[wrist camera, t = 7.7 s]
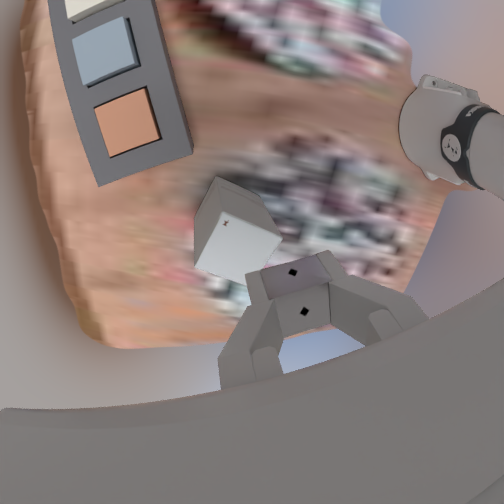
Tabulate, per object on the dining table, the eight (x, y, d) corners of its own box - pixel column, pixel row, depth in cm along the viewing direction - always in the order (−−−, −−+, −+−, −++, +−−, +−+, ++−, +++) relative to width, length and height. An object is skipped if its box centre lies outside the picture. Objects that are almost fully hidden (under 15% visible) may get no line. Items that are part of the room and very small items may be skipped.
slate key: (131, 24, 23) (122, 16, 20) (142, 66, 27) (134, 63, 23) (85, 44, 23) (71, 39, 20) (96, 85, 26) (83, 85, 23)
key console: (144, -43, 20) (137, -61, 15) (193, 145, 36) (192, 154, 31) (63, -8, 20) (45, -19, 15) (111, 173, 36) (98, 187, 31)
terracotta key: (150, 88, 29) (143, 88, 26) (163, 133, 33) (158, 138, 29) (105, 106, 29) (94, 109, 26) (119, 149, 32) (109, 156, 29)
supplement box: (192, 218, 42) (190, 267, 31) (215, 173, 39) (222, 209, 28) (237, 237, 45) (250, 289, 34) (262, 196, 42) (285, 237, 31)
